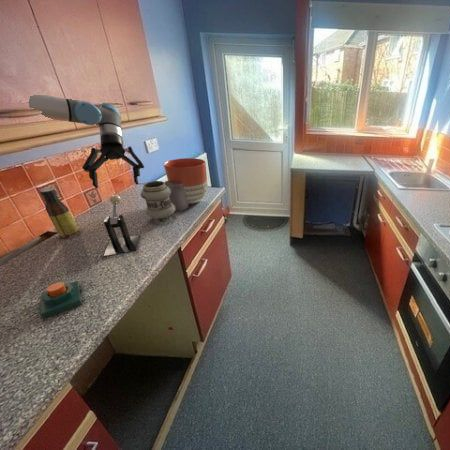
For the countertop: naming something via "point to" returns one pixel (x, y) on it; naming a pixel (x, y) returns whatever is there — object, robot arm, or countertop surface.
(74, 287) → the button housing
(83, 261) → the countertop surface
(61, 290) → the button
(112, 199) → the lever
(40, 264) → the countertop surface
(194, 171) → the planter
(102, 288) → the countertop surface
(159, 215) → the apothecary jar
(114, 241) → the bracket
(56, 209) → the sauce bottle
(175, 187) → the pillar candle
